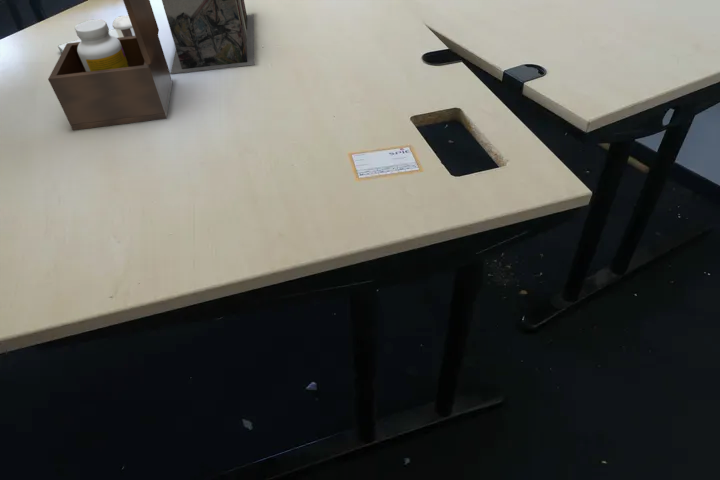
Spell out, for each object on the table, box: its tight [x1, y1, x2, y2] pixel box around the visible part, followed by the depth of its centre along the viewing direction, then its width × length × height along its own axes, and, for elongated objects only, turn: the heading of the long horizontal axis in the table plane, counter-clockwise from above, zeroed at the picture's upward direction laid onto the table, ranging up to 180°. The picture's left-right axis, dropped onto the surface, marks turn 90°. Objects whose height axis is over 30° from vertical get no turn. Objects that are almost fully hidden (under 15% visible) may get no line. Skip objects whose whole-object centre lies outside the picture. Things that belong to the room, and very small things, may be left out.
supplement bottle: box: [74, 18, 129, 72], centre depth 87 cm, size 7×7×13 cm
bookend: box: [161, 0, 256, 75], centre depth 103 cm, size 16×25×16 cm, turn 9°
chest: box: [48, 35, 174, 131], centre depth 89 cm, size 15×13×9 cm
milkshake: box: [112, 14, 136, 38], centre depth 99 cm, size 4×5×10 cm
